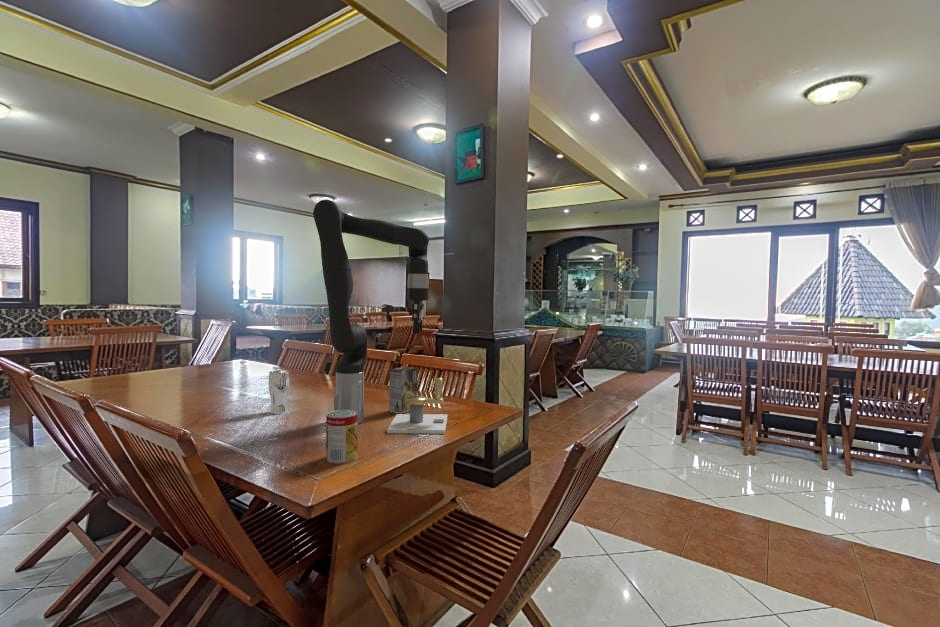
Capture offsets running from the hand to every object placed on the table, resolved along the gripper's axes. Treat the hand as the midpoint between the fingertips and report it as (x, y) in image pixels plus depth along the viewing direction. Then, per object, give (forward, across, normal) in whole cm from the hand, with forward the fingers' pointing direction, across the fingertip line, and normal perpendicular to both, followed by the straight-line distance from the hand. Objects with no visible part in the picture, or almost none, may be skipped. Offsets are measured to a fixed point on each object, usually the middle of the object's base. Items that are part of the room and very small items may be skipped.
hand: (417, 332), depth 154 cm
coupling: (+23, -11, -4) cm, 25 cm away
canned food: (+30, -41, +15) cm, 53 cm away
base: (+30, -11, -1) cm, 32 cm away
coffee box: (+30, +7, +6) cm, 32 cm away
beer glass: (+30, +3, +51) cm, 59 cm away
